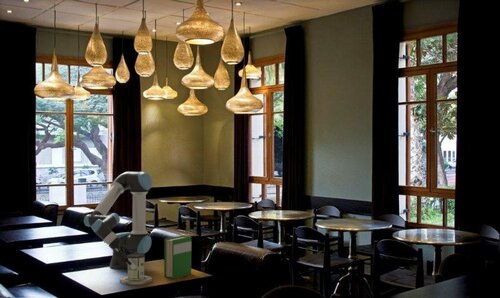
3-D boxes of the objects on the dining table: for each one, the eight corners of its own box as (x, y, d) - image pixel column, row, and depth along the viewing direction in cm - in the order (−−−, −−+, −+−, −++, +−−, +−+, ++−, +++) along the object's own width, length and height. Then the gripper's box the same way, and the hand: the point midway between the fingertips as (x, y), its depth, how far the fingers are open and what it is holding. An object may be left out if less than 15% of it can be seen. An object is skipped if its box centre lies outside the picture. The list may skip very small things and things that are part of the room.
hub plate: (115, 280, 339) (115, 277, 339) (144, 276, 350) (144, 273, 350) (127, 286, 324) (127, 283, 324) (157, 282, 334) (157, 279, 334)
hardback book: (173, 279, 343) (173, 240, 343) (164, 277, 347) (164, 239, 347) (191, 273, 358) (191, 236, 358) (182, 272, 362) (182, 235, 362)
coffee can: (130, 276, 342) (130, 253, 343) (146, 276, 341) (146, 253, 342) (125, 279, 332) (125, 256, 332) (141, 280, 331) (142, 256, 331)
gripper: (113, 241, 349) (136, 266, 349) (102, 248, 324) (128, 274, 324) (121, 233, 349) (145, 257, 349) (112, 239, 324) (137, 265, 324)
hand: (137, 266), depth 337 cm, fingers open, 13 cm apart
